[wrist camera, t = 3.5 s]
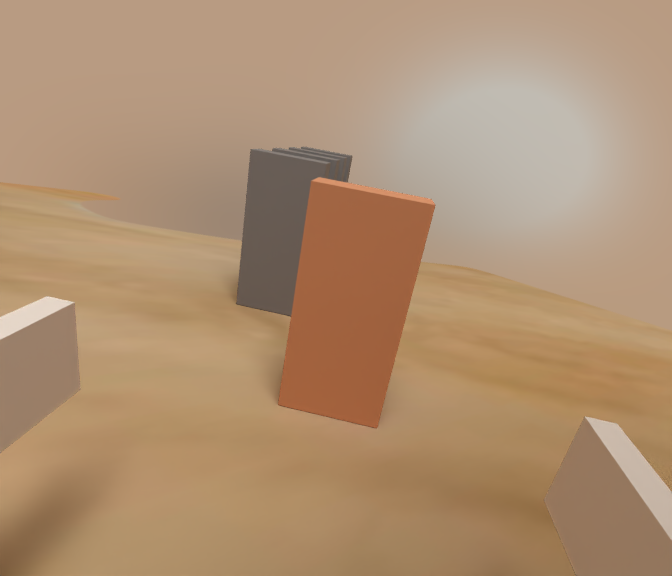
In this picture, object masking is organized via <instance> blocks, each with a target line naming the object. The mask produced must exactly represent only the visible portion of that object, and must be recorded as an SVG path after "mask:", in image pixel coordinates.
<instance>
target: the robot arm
mask: <svg viewBox="0 0 672 576" xmlns="http://www.w3.org/2000/svg"><path fill="white" fill-rule="evenodd" d="M79 390H80V376H79V361H78V346H77V331H76V317H75V302H71V301H66V300H62V299H57V298H53V297H48V296H47V297H44V298H42V299H40V300H38V301H35V302H33V303H31V304H29V305H26V306H24V307H22V308H20V309H17V310H15V311H13V312H11V313H9V314H6V315H4V316H2V317H0V453H1V452H2V451H4V450H5V449H6V448H7V447H9V446H10V445H11V444H13V443H14V442H15V441H16V440H18V439H19V438H20V437H21V436H23V435H24V434H25V433H26V432H28V431H29V430H30V429H31V428H33V427H34V426H35V425H37V424H38V423H39V422H40V421H42V420H43V419H44V418H45V417H47V416H48V415H49V414H50V413H52V412H53V411H54V410H55V409H57V408H58V407H59V406H61V405H62V404H63V403H64V402H66V401H67V400H68V399H69V398H71V397H72V396H73V395H74V394H76V393H77V392H78V391H79ZM544 502H545V504H546V506H547V509H548V511H549V513H550V516H551V518H552V521H553V523H554V525H555V528H556V530H557V532H558V535H559V537H560V539H561V542H562V544H563V547H564V549H565V551H566V554H567V556H568V558H569V561H570V563H571V565H572V568H573V570H574V573H575V575H576V576H672V492H671V491H670V489H669V488H668V487H667V486H666V484H665V483H664V482H663V481H662V479H661V478H660V477H659V476H658V474H657V473H656V472H655V470H654V469H653V468H652V467H651V465H650V464H649V463H648V462H647V460H646V459H645V458H644V457H643V455H642V454H641V453H640V452H639V450H638V449H637V448H636V447H635V445H634V444H633V443H632V442H631V440H630V439H629V438H628V437H627V435H626V434H625V433H624V432H623V430H622V429H621V428H620V427H619V425H618V424H616V423H612V422H607V421H603V420H598V419H594V418H589V417H584V419H583V421H582V423H581V425H580V427H579V429H578V431H577V433H576V435H575V437H574V439H573V441H572V443H571V445H570V447H569V450H568V452H567V454H566V456H565V458H564V460H563V462H562V464H561V466H560V468H559V470H558V472H557V474H556V476H555V478H554V480H553V482H552V484H551V486H550V488H549V490H548V492H547V494H546V496H545V499H544Z"/></svg>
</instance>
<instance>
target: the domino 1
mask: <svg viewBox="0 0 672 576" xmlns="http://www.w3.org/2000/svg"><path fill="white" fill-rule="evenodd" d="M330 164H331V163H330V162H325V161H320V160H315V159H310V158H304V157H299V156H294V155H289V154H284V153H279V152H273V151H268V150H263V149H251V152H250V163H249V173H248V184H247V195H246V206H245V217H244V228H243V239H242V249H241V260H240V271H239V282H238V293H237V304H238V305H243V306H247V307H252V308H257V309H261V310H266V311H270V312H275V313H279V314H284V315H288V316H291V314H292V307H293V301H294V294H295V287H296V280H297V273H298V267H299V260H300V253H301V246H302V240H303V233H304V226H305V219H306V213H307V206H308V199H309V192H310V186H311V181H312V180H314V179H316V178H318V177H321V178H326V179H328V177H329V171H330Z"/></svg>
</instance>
